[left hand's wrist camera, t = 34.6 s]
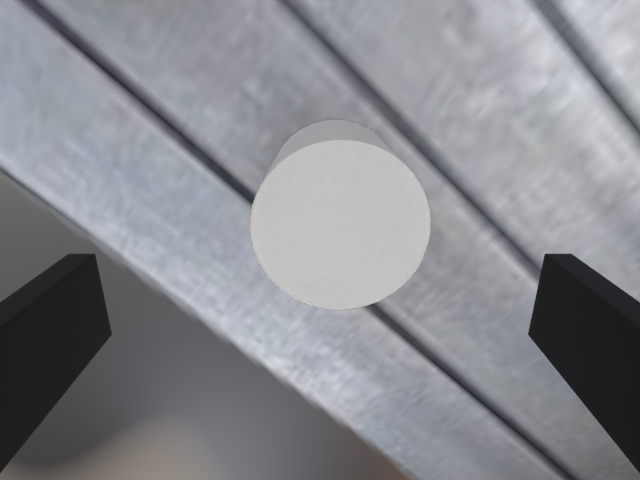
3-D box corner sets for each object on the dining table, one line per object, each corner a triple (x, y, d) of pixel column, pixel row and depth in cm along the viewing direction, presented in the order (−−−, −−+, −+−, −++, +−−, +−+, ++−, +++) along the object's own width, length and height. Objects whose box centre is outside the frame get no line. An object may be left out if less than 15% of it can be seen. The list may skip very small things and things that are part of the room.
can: (419, 214, 30) (456, 268, 22) (306, 266, 31) (301, 334, 23) (368, 94, 27) (388, 104, 19) (245, 157, 28) (215, 191, 20)
